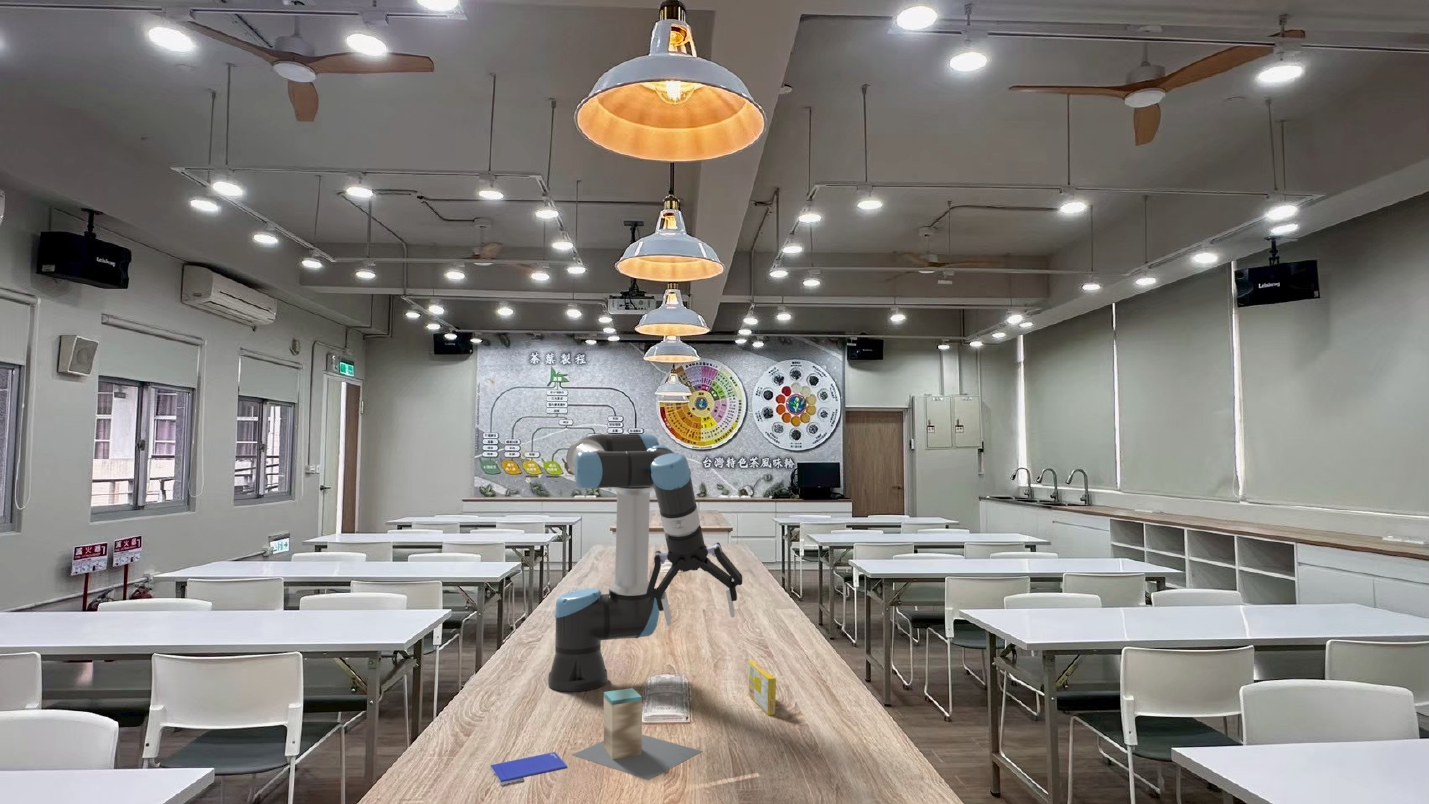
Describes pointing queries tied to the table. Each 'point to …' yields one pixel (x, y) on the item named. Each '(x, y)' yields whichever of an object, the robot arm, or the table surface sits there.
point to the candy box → (762, 687)
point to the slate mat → (642, 757)
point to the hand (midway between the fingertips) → (701, 617)
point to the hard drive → (527, 767)
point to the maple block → (622, 723)
